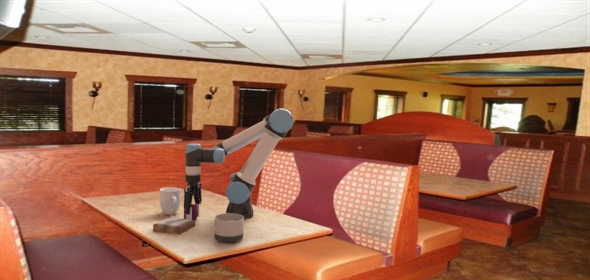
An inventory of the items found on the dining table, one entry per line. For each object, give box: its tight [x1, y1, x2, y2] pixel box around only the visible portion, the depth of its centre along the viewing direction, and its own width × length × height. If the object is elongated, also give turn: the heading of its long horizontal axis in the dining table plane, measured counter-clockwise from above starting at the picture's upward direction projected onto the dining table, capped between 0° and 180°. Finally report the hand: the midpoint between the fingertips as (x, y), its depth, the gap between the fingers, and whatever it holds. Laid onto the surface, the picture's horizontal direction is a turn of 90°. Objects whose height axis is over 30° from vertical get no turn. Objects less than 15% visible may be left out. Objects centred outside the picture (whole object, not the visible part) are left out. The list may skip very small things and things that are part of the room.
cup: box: [183, 203, 198, 221], centre depth 217 cm, size 7×10×7 cm
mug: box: [159, 186, 182, 216], centre depth 227 cm, size 15×11×13 cm
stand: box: [152, 216, 196, 236], centre depth 202 cm, size 14×14×4 cm
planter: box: [213, 212, 245, 244], centre depth 190 cm, size 13×13×10 cm
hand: (192, 218), depth 218 cm, fingers closed on cup, 7 cm apart
